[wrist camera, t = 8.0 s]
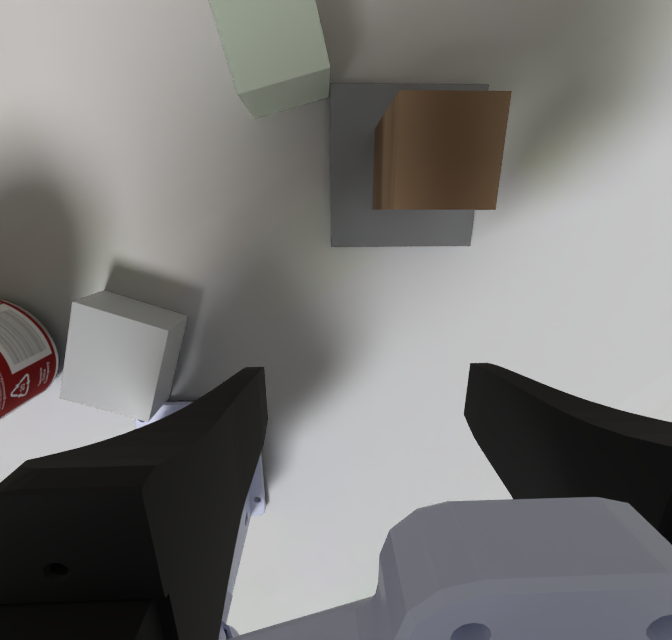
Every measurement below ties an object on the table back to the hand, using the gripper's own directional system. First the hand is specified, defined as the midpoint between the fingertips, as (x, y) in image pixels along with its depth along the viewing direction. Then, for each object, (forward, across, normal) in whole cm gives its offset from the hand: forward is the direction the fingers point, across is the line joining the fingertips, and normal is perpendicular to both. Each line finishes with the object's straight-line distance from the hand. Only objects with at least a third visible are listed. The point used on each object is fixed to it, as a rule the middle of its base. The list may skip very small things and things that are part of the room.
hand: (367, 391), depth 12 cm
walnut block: (+9, -3, -8) cm, 13 cm away
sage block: (+10, +4, -13) cm, 17 cm away
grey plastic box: (+10, +13, +2) cm, 17 cm away
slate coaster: (+10, -3, -8) cm, 13 cm away
